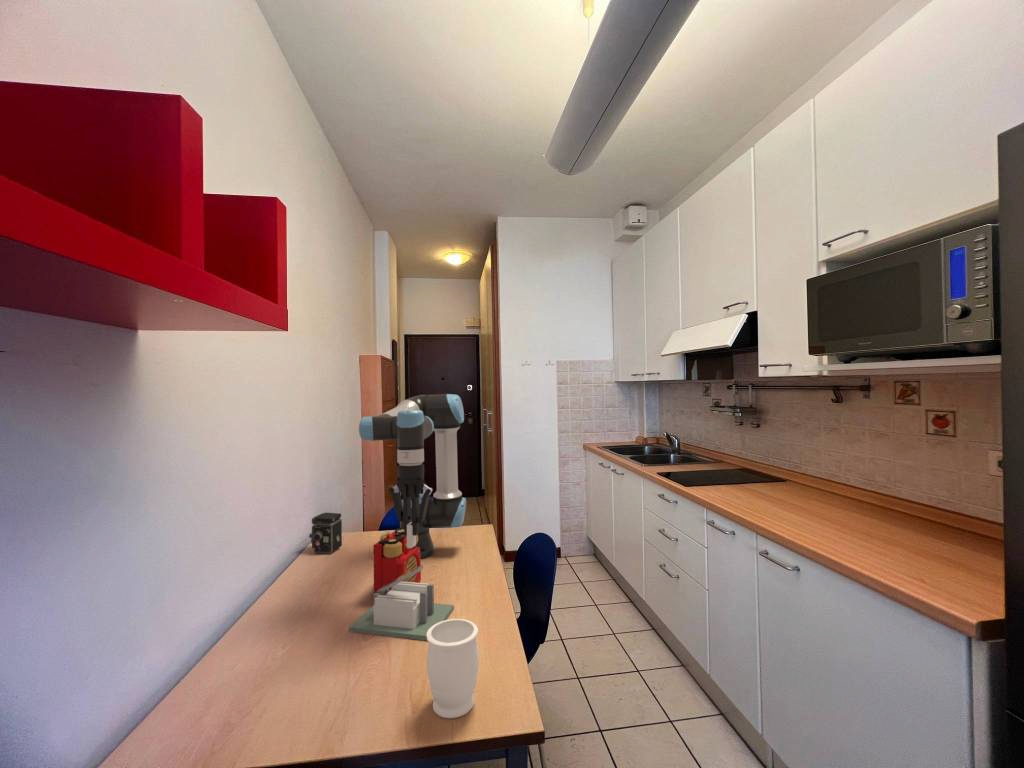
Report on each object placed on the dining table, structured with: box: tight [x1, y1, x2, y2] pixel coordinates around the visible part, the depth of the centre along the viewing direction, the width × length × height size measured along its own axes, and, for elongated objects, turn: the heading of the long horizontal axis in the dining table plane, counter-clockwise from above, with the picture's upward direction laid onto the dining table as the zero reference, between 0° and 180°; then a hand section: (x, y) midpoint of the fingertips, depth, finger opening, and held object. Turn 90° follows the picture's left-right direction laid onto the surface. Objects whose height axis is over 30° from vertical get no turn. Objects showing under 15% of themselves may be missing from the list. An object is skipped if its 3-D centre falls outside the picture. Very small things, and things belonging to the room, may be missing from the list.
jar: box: [426, 618, 480, 719], centre depth 89 cm, size 11×10×15 cm
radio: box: [373, 527, 422, 595], centre depth 141 cm, size 16×10×20 cm, turn 168°
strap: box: [377, 564, 425, 595], centre depth 123 cm, size 15×3×2 cm
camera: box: [309, 512, 343, 555], centre depth 179 cm, size 10×10×15 cm
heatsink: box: [348, 582, 455, 642], centre depth 123 cm, size 24×17×9 cm
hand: (411, 546), depth 123 cm, fingers closed
